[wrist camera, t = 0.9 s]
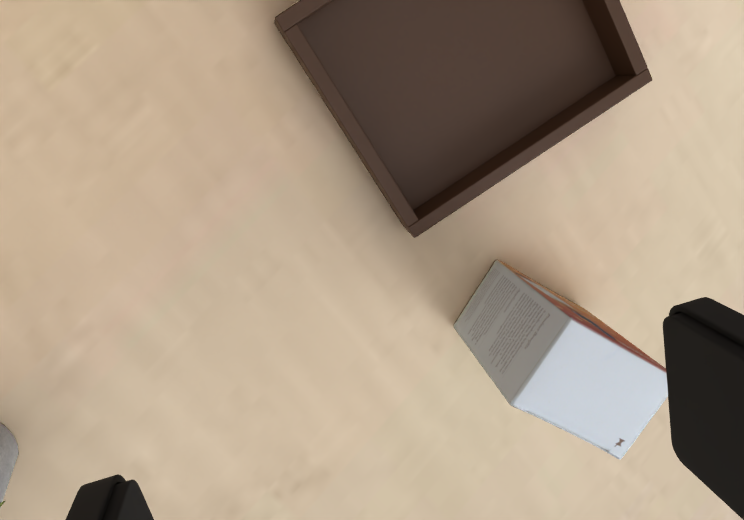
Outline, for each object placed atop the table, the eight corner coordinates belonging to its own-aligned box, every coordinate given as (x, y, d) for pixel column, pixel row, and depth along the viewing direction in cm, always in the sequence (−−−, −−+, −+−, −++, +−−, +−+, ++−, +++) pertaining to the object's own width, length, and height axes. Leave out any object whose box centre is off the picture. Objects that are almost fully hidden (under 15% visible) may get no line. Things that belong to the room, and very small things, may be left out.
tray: (273, 22, 33) (274, 17, 30) (526, -149, 33) (549, -168, 30) (404, 227, 38) (414, 238, 35) (625, 79, 37) (653, 80, 35)
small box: (585, 308, 42) (685, 380, 32) (540, 373, 43) (624, 463, 33) (495, 255, 39) (572, 315, 29) (449, 325, 40) (510, 407, 30)
